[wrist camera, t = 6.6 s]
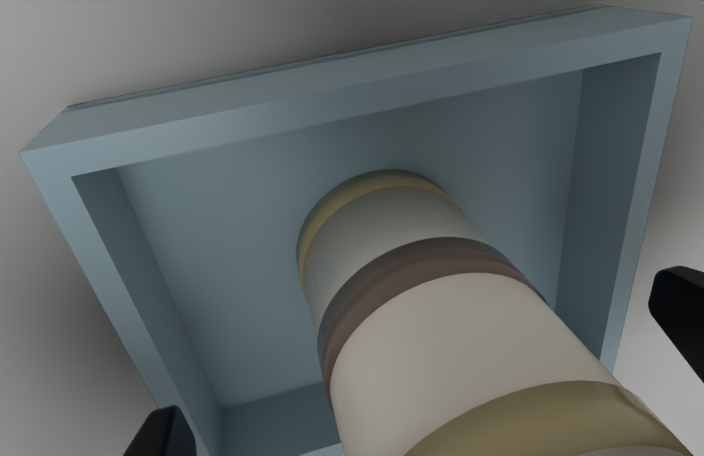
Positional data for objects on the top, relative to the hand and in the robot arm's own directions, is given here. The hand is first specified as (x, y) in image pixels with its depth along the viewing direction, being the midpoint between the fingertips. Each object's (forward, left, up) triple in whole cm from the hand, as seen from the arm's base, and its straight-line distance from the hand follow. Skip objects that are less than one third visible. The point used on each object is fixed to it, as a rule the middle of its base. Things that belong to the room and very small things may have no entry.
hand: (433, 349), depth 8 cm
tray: (0, 0, -4) cm, 4 cm away
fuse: (0, 0, -4) cm, 4 cm away
